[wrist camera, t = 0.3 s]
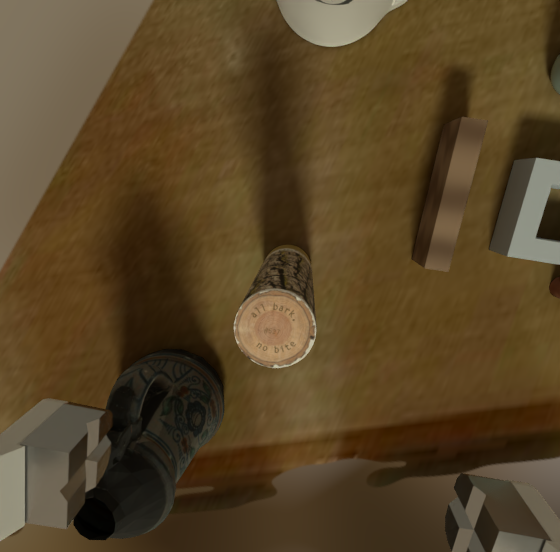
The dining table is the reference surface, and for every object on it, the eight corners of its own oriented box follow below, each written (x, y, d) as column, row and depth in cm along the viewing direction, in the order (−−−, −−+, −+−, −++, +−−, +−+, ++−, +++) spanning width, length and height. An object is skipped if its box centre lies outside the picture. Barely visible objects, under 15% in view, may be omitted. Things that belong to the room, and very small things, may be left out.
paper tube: (268, 239, 56) (239, 283, 31) (315, 247, 55) (323, 297, 31) (261, 285, 57) (228, 360, 33) (307, 293, 57) (308, 374, 33)
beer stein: (151, 450, 65) (60, 610, 41) (99, 348, 61) (-36, 456, 37) (243, 422, 63) (204, 574, 38) (195, 314, 59) (117, 405, 35)
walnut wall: (443, 124, 51) (462, 116, 45) (467, 127, 51) (488, 120, 45) (411, 259, 55) (424, 268, 49) (433, 262, 55) (448, 271, 49)
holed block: (514, 160, 51) (536, 157, 46) (606, 174, 51) (638, 173, 46) (488, 249, 54) (507, 256, 49) (576, 263, 54) (603, 271, 49)
